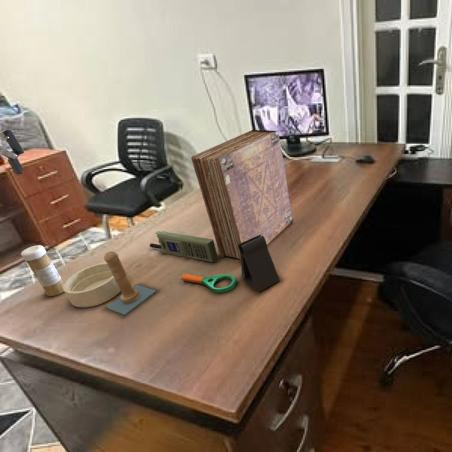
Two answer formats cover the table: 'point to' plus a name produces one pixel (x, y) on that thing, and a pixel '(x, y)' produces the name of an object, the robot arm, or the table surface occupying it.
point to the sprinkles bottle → (43, 269)
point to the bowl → (91, 286)
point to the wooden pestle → (121, 278)
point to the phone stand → (257, 263)
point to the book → (244, 189)
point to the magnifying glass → (214, 279)
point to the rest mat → (126, 308)
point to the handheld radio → (186, 246)
